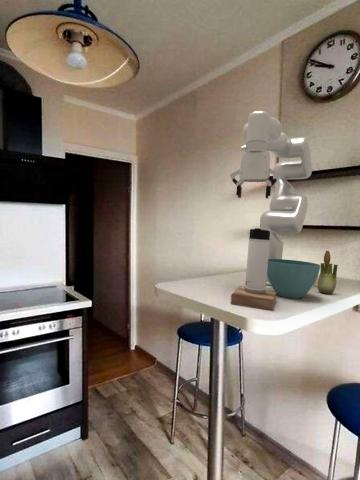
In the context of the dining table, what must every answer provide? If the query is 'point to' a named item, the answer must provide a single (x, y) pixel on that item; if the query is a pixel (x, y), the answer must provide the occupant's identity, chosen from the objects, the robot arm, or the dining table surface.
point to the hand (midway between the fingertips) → (252, 197)
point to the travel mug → (257, 261)
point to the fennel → (325, 261)
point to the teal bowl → (292, 276)
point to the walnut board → (254, 299)
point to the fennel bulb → (327, 278)
